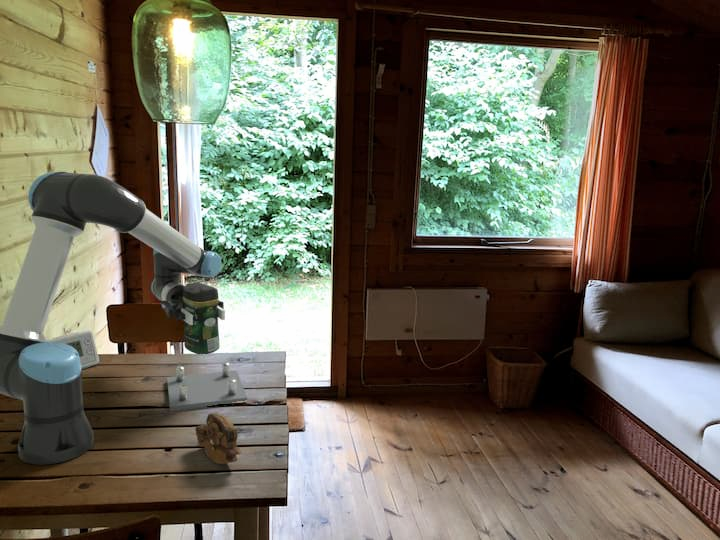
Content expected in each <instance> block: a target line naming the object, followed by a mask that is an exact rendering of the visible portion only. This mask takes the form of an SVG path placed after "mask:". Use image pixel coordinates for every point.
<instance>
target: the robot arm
mask: <svg viewBox="0 0 720 540" xmlns="http://www.w3.org/2000/svg"><path fill="white" fill-rule="evenodd" d="M27 199H28V201H27V202H29V204H30V205H29V207H30V209H31V210H32V214H31V217H30V219H31V220H32V222H33V225H34V227H35V228H34V230H33V234H32V237H31V240H30V243H29V245H28V248H27V252H26V254H25V257H24V260H23V263H22V265H21V268H20V271H19V274H18V277H17V280H16V284H15V286H14V288H13V292H12V295H11V297H10V300H9V303H8V306H7V309H6V311H5V315H4V318H3V320H2V323H1V325H0V394H1V395H4V396H7V397H10V398H13V399H18V400H21V401H22V403H23V413H24V415H23V416H24V422H23V423H24V424H23V427H22V430H21V433H20V435H19V437H20V438H19V440H18V444H17V452H18V458H19V459H20V460H21V461H23V462H24V463H27V464H32V465H40V466H41V465H45V466H46V465H53V464H59V463H64V462H67V461H70V460H72V459H75V458H78V457H80V456H82V455H83V454H85V453H86V452H88V451H89V450H90V449H91V448H92V447H93V445H94V441H95V438H94V431H93V428H92V427H91V424H90V422H89V419H88V417H87V416H86V414H85V411H84V399H83V394H84V393H83V380H82V379H83V378H82V376H83V375H82V370H81V368H82V366H81V363H80V358H79V354H78V352H77V350H76V349H74V348H73V347H72V346H69V345H67V344H63V343H57V342H55V343H50V342H48V341H47V340H48V339H47V338H46V337H45V335H44V330H45V328H46V325H47V322H48V319H49V315H50V313H51V309H52V306H53V303H54V301H55V297H56V294H57V291H58V288H59V286H60V282H61V278H62V275H63V272H64V270H65V267H66V264H67V260H68V257H69V255H70V252H71V248H72V245H73V243H74V240H75V238H77V237H79V236H81V235H82V234H83V233H84V231H85V227H86V225H87V223H88V224H96V225H102V226H105V227H109V228H112V229H113V230H115V231H117V232H119V233H123V234H126V233H128V234H129V235H131V236H132V237H135V238H136V239H138V240H139V241H141V242H142V243H144V244H145V245H147V246H148V247H150V248H152V249H153V253H152V256H153V269H154V270H153V271H154V275H153V276H154V277H153V281H152V282H151V286H150V289H151V292H152V294H153V295H154V296H155V297H156V299H158V300H159V301H161V310H162V311H164V312H165V313H166V315H167V318H168V319H170V320H171V319H174V318H176V319H175V321H176V322H181V321H184V323H185V322H186V323H188V324H189V325H193V315H192V314H191V313H189V312H188V311H187V310H185V309H184V302H183V288H184V287H185V286H186V285H184V284H183V283H181V274H184V275H185V274H186V275H190V276H191V275H192V276H197V277H203V278H214V277H216V276H217V275H218V274H219V273H220V271H221V267H222V259H221V257H220V255H219V254H218V253H216V252H215V251H210V250H205V249H203V248H202V247H200V246H199V245H197V244H196V243H195V242H194V241H192V240H190V239H189V238H187V237H186V236H185V235H183V234H182V233H181V232H179V231H178V230H176V229H175V228H173V227H172V226H171V225H169V224H168V223H167V222H165V221H164V220H162V219H161V218H160V217H159V216H157V214H155V213H153V212H152V211H150V210H149V209H148V208H147V207H146V204H145V202H144V200H142V199H141V198H139V197H138V196H137V195H135V194H134V193H132V192H131V191H129V189H127V188H125V187H123V186H122V185H120V184H119V183H116V182H115V181H114V180H111V179H109V178H107V177H105V176H102V175H99V174H94V173H93V174H92V173H91V174H90V173H88V174H87V173H78V172H77V173H76V172H67V171H53V172H46V173H43V174H41V175H40V176H38V177H37V178H36V179H35V180H34V181H33V182H32V184H31V186H30V187H29V190H28V196H27ZM224 303H225V302H223V301H221V300H218V306H217V314H218V319H220V321H225V320H226V317H225V311H226V310H225V309H224Z"/></svg>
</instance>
